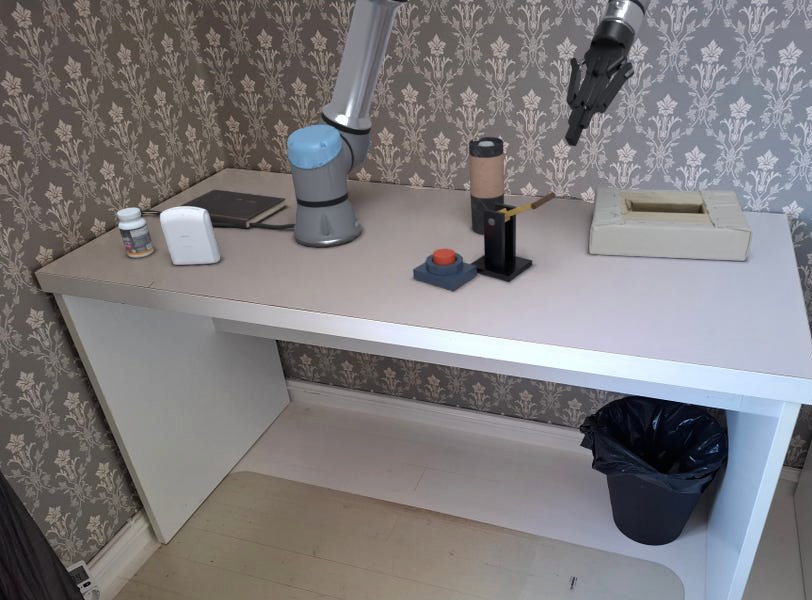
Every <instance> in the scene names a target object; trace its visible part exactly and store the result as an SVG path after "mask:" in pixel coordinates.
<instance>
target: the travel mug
mask: <svg viewBox="0 0 812 600" xmlns="http://www.w3.org/2000/svg"><path fill="white" fill-rule="evenodd" d="M468 155H469V156H468V159H469V160H468V161H469V197H470V198H469V199H470V211H471V214H470V215H471V225H472V231H473V232H474V233H475V234H479V235H484V210H485V209H489V210H493V211H495V204H496V203H502V204H505V175H504V174H505V173H504V172H505V166H504V165H505V163H504V159H505V158H504V157H505V156H504V140H503V139H502V138H500V137H494V136H482V137H480V139H478V140H473V139H471V140H469V142H468Z"/></svg>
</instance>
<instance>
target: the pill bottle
mask: <svg viewBox="0 0 812 600" xmlns="http://www.w3.org/2000/svg"><path fill="white" fill-rule="evenodd" d="M116 215H117V218H118V220H119V223H118V225H117V226H118V230H119V233H120V236H121V239H122V243H123V245H124V248H125V252H126V254H127V256H128V257H130V258H135V259H137V258H144V257H148V256H149V255H151V254H152V253H154V251H155V247H154V244H153V240H152V237H151V234H150V230H149V227H148V224H147V221H146V220H145V218H144V217H142V216H141V210H140V208H138V207H127V208H126V207H125V208H123V209H120V210H118V211H117V212H116Z"/></svg>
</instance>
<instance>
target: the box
mask: <svg viewBox="0 0 812 600" xmlns="http://www.w3.org/2000/svg"><path fill="white" fill-rule="evenodd" d="M589 228H590V230H589V241H588V253H589V254H590V255H601V256H624V257H625V256H626V257H627V256H628V257H643V258H644V257H646V258H647V257H648V258H668V259H669V258H670V259H691V260H692V259H693V260H711V261H712V260H714V261H715V260H716V261H735V262H736V261H738V262H739V261H740V262H744V261H746V260H747V257H748V254H749V251H750V248H751V244H752V239H753V230H752V229H751V227H750V226H749V223H748V221H747V218H746V216H745V214H744V211H743V209H742V206H741V203H740V201H739V199H738V195H737V192H736V191H734V190H728V189H710V190H709V189H701V188H700V189H698V190H679V189H678V190H677V189H676V190H672V189H647V188H644V189H643V188H620V187H619V186H617V187H616V186H614V187H613V186H597V187H595V189H594V196H593V217H592V221H591V224H590V227H589Z"/></svg>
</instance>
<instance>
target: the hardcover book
mask: <svg viewBox="0 0 812 600" xmlns="http://www.w3.org/2000/svg"><path fill="white" fill-rule="evenodd" d="M285 201H286V198H283V197H277V196H268V195H262V194H253V193H245V192H237V191H231V190H230V191H229V190H222V189H215V188H214V189H212V190H210V191H208V192H205V193H204V194H202V195H200V196H198V197H195V198H193V199H192V200H189V201H187V202H185V203H183V204H181V205H178V207H180V206H191V207H198V208H202V209H205V210H207V211H208V213H209V216H210V219H211V222H217V223H231V224H233V225H235V227H234V228H239V229H245V230H246V229H247V230H249V229H251V228H252V227H251V226H249V223H263V221H265V220H266V219H269V218H270V217H273V216H274V215H275V214H277V213H279V212H281V211H283V210H284V209H285V208H287V207H288V206H287V205H286V204H285Z"/></svg>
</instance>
